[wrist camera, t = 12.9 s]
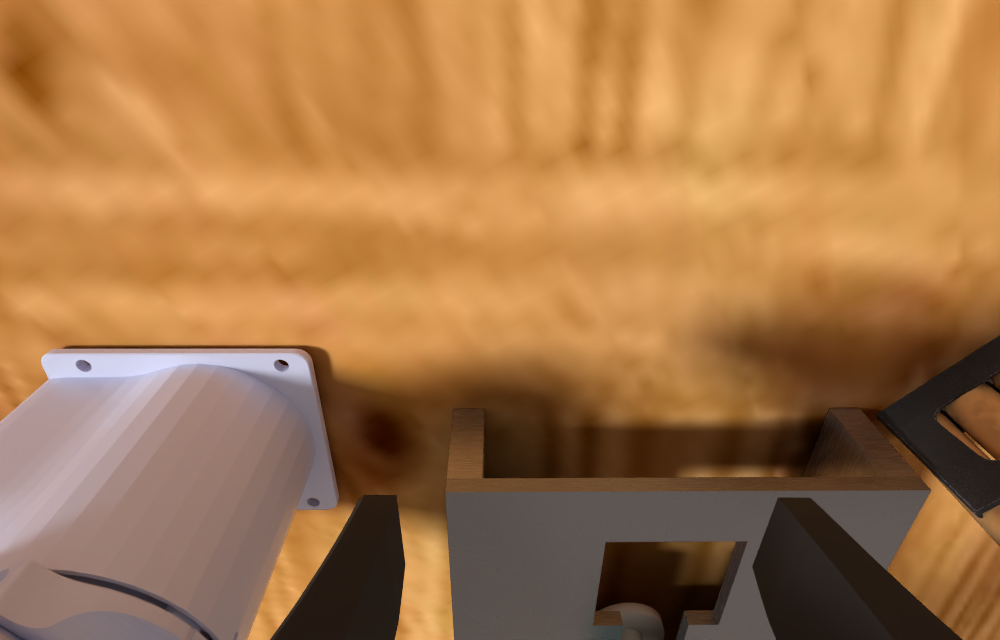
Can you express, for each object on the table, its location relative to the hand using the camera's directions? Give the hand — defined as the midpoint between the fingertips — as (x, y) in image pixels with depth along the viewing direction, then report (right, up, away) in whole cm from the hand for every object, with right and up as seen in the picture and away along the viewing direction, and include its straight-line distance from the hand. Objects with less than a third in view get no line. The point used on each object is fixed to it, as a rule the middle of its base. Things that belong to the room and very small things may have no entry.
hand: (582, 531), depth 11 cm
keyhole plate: (+4, -9, +17) cm, 20 cm away
